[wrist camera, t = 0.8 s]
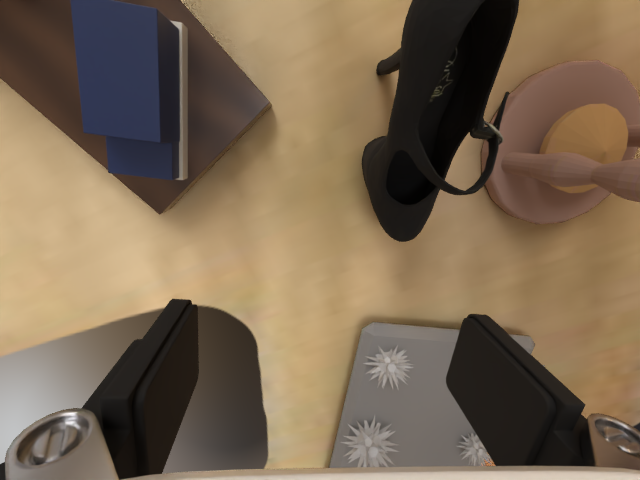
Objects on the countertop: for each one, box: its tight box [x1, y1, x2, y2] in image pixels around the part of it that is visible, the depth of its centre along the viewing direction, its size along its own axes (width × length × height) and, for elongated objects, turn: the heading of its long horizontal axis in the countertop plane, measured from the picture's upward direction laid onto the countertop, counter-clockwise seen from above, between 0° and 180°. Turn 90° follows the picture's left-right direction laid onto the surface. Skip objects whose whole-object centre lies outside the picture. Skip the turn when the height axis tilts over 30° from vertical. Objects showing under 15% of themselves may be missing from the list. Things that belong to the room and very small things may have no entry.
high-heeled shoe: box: [362, 0, 519, 242], centre depth 25 cm, size 8×19×20 cm, turn 8°
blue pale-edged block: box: [70, 0, 188, 180], centre depth 26 cm, size 13×6×6 cm, turn 172°
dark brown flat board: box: [0, 0, 271, 214], centre depth 27 cm, size 16×30×3 cm, turn 42°
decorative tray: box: [329, 322, 545, 468], centre depth 44 cm, size 35×26×10 cm
